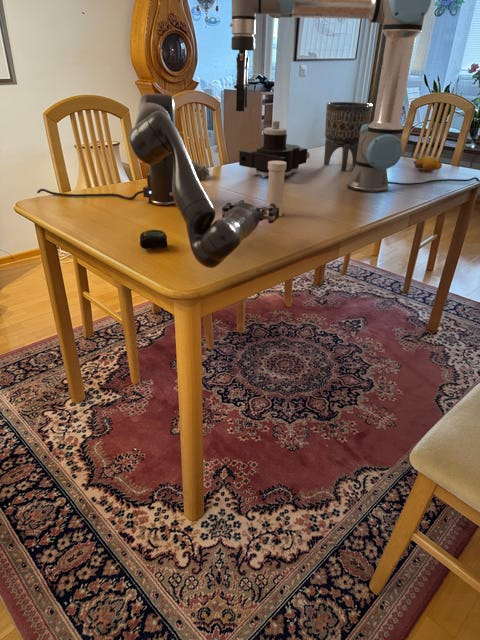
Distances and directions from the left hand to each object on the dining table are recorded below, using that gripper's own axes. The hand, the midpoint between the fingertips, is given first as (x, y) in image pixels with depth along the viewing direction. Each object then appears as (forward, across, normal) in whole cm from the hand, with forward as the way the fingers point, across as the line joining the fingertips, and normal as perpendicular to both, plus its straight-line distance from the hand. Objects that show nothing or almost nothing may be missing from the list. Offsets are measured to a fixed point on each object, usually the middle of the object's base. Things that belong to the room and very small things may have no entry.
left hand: (257, 205), depth 123 cm
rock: (+57, +42, +8) cm, 71 cm away
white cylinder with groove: (+21, 0, -7) cm, 22 cm away
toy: (+114, -49, +8) cm, 124 cm away
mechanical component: (+80, +12, +8) cm, 81 cm away
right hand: (+44, +19, -20) cm, 52 cm away
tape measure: (-19, +22, +9) cm, 30 cm away
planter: (+104, -12, +8) cm, 105 cm away
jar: (+21, 0, +8) cm, 23 cm away
